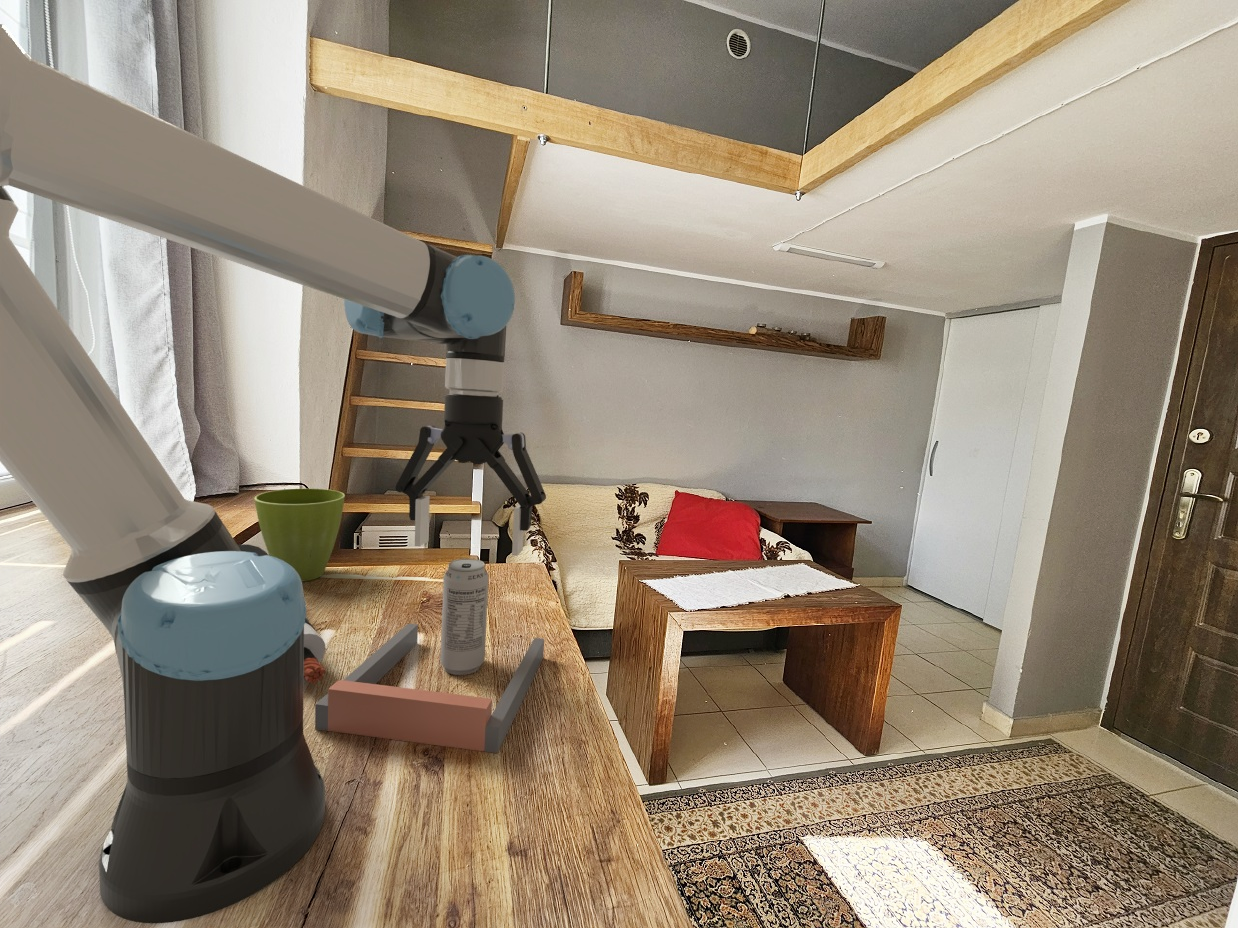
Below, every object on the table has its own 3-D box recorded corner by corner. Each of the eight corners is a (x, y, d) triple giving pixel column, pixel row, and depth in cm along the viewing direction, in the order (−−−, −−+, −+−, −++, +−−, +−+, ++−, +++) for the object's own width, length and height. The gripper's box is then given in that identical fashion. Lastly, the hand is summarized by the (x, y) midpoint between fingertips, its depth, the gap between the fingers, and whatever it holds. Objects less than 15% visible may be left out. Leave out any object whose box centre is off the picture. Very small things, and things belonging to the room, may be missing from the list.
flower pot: (307, 594, 97) (308, 507, 95) (234, 583, 100) (233, 498, 98) (359, 569, 112) (361, 493, 110) (295, 560, 114) (295, 485, 112)
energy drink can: (485, 655, 80) (490, 557, 78) (482, 676, 74) (487, 571, 73) (443, 656, 79) (447, 556, 77) (436, 677, 73) (440, 570, 71)
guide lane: (497, 753, 59) (499, 710, 59) (315, 728, 61) (315, 687, 60) (543, 657, 81) (545, 626, 80) (407, 642, 83) (408, 610, 82)
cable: (294, 730, 67) (252, 678, 62) (220, 614, 89) (184, 569, 83) (370, 673, 73) (337, 621, 68) (283, 577, 95) (253, 532, 89)
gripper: (572, 399, 75) (563, 548, 78) (398, 387, 77) (395, 532, 80) (561, 400, 67) (552, 565, 70) (369, 386, 69) (367, 547, 72)
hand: (469, 548), depth 75 cm, fingers open, 13 cm apart
